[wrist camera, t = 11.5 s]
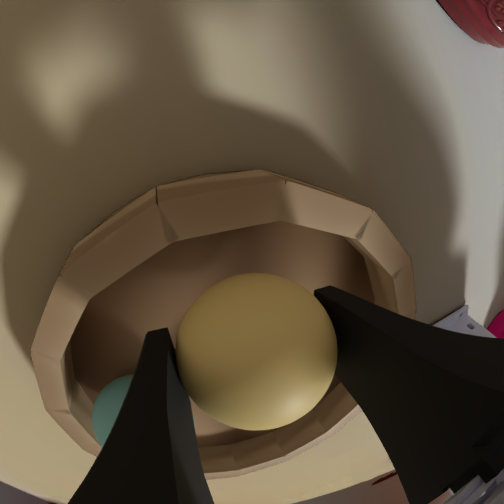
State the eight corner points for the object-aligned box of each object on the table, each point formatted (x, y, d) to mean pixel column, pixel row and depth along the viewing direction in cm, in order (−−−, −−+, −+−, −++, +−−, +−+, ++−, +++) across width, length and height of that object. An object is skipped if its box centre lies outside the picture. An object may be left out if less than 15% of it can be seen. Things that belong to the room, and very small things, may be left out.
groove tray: (397, 155, 13) (440, 167, 10) (357, 397, 21) (375, 421, 18) (-10, 229, 8) (-44, 258, 6) (131, 462, 16) (135, 493, 14)
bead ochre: (293, 234, 10) (385, 310, 6) (295, 337, 12) (354, 421, 8) (152, 265, 9) (164, 381, 5) (184, 368, 11) (212, 472, 7)
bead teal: (176, 346, 12) (191, 433, 8) (194, 406, 14) (212, 479, 10) (81, 358, 11) (67, 441, 7) (115, 416, 13) (116, 488, 9)
